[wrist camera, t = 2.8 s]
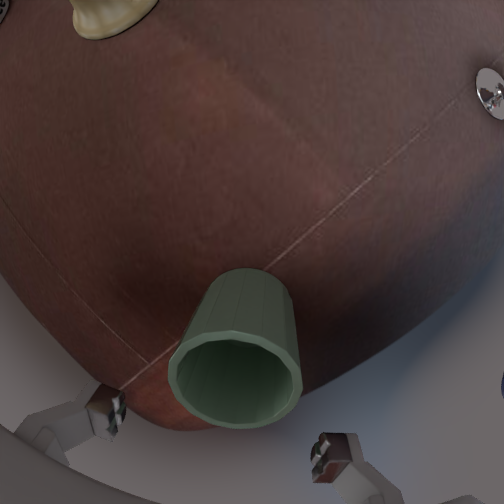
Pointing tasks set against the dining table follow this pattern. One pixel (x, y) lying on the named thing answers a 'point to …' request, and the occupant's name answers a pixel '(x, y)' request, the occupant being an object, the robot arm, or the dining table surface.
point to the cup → (3, 8)
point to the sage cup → (239, 353)
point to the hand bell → (107, 16)
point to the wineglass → (491, 92)
